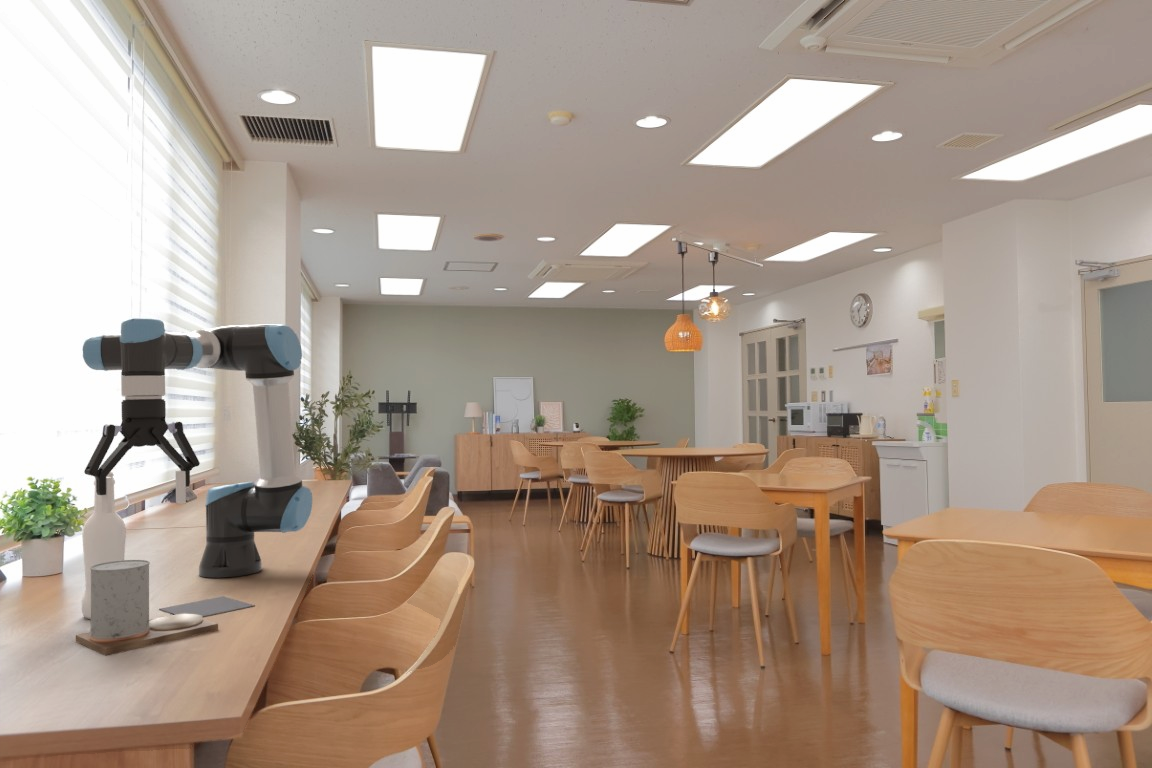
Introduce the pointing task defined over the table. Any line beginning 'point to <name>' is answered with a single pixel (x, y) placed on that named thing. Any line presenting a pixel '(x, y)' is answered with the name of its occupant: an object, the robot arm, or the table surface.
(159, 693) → the table surface
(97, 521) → the bottle
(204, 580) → the table surface
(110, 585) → the grey marbled cylinder
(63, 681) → the table surface
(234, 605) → the mat
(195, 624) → the board
